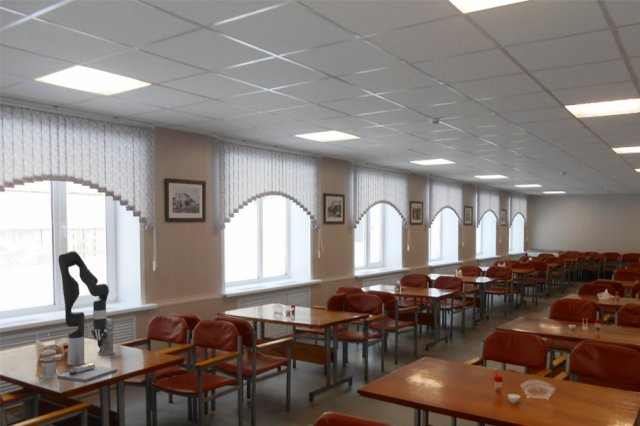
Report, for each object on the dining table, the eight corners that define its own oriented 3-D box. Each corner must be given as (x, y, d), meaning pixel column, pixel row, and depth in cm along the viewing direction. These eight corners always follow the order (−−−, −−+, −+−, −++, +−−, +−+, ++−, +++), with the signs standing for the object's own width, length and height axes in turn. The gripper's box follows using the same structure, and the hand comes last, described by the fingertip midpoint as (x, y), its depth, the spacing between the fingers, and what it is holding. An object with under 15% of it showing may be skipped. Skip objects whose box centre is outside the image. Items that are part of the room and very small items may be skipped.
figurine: (110, 350, 361) (109, 315, 362) (115, 354, 349) (115, 318, 350) (95, 353, 355) (95, 317, 356) (100, 356, 344) (100, 319, 344)
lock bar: (72, 374, 293) (72, 370, 293) (67, 373, 295) (67, 369, 295) (95, 367, 308) (95, 363, 308) (91, 366, 309) (91, 363, 309)
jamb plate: (57, 377, 294) (57, 370, 294) (90, 367, 315) (89, 360, 315) (85, 381, 285) (85, 373, 285) (117, 371, 306) (116, 363, 306)
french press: (40, 379, 293) (40, 335, 294) (38, 374, 302) (37, 332, 303) (59, 375, 299) (59, 333, 299) (56, 371, 308) (56, 330, 309)
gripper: (86, 317, 303) (87, 346, 302) (102, 319, 297) (103, 348, 297) (96, 315, 310) (97, 343, 309) (112, 316, 304) (113, 345, 304)
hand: (100, 346), depth 303 cm, fingers closed
